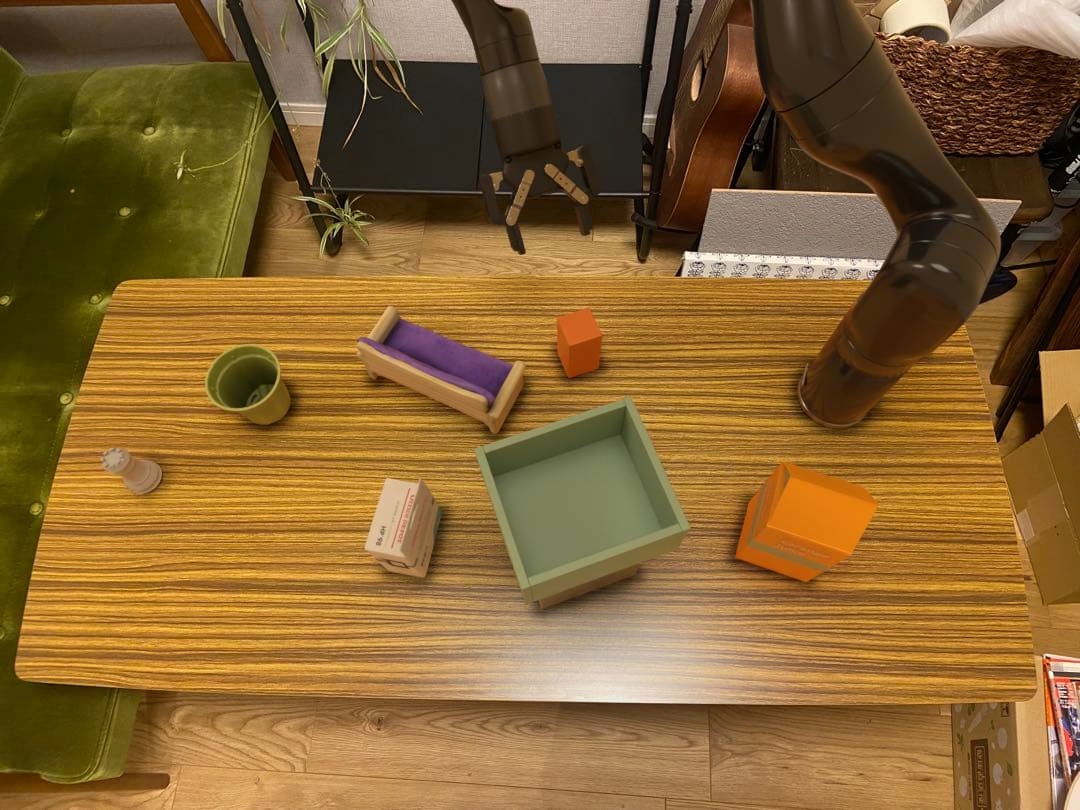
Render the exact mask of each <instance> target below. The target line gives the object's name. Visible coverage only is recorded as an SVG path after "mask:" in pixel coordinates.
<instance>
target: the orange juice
mask: <svg viewBox="0 0 1080 810" xmlns="http://www.w3.org/2000/svg"><path fill="white" fill-rule="evenodd" d="M879 506H880V503H878V501H877V500H876V499H875V498H874V496H872V494H871V493H870V492H869V491H868V490H867V489H866V488H865V487H864V486H862V485H859V484H855V483H853V482H850V481H846V480H843V479H840V478H837V477H834V476H831V475H827V474H824V473H821V472H818V471H814V470H812V469H808V468H805V467H803V466H799V465H796V464H793V463H790V462H788V461H784V460H782V461H781V462H780V464H779V465H778V466H777V467H776V469H775V470H774V471H773V473H772V474H771V475H770V476H769V477H768V478H767V479H766V480H765V481H764V482H763V484H762V485H761V486H760V488H759V489H758V490H757V491H756V493H755V494H754V495H753V496H752V497H751V499H750V500H749V501H748V505H747V508H746V513H745V517H744V520H743V525H742V528H741V532H740V536H739V540H738V544H737V548H736V550H735V551H736V552H735V555H734V558H735V559H738V560H741V561H743V562H746V563H748V564H752V565H755V566H758V567H762V568H764V569H767V570H770V571H773V572H775V573H778V574H781V575H784V576H787V577H790V578H791V579H796V580H798V581H801V582H804V583H807V582H809V581H811V580H812V579H814V578H816V577H818V576H819V575H820V574H823V573H825V572H826V571H828V570H830V569H831V568H832V567H833V566H836V565H837V564H839V563H840V562H842V561H844V560H845V559H847V558H849V557H851V556H852V555H853V552H854V550H855V549H856V547H857V545H858V543H859V542H860V540H861V538H862V536H863V535H864V532H865V531H866V529H867V528H868V526H869V524H870V522H871V521H872V518H873V517H874V515H875V513H876V512H877V510H878V508H879Z"/></svg>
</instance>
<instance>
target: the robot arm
mask: <svg viewBox="0 0 1080 810" xmlns="http://www.w3.org/2000/svg"><path fill="white" fill-rule="evenodd" d="M450 1H451V2H452V4H453V6H454V8H455V10H456V12H457V14H458V16H459V18H460V20H461V22H462V24H463V26H464V28H465V30H466V32H467V34H468V36H469V38H470V40H471V43H472V46H473V50H474V51H473V52H474V54H475V59H476V63H477V67H478V70H479V74H480V76H481V82H482V89H483V96H484V100H485V104H486V112H487V116H488V117H489V120H490V124H491V127H492V132H493V135H494V138H495V142H496V146H497V150H498V153H499V157H500V161H501V169H500V171H497V172H492V173H482V174H480V175H479V177H478V180H479V184H480V185H479V186H480V189H481V193H482V199H483V203H484V207H485V213H486V217H487V221H488V222H489V223H490V224H492V225H497V226H498V225H500V226H503V227H504V228H505V231H506V234H507V237H508V241H509V245H510V248H511V249H512V251H514V252H515V253H517V254H518V255H520V256H522V255H526V254H527V251H526V248H525V244H524V240H523V236H522V232H521V228H520V225H519V223H517V221H518V217H519V215H520V212H521V210H522V208H523V207H524V204H525V202H526V200H535V199H538V198H540V197H541V196H543V195H551V194H555V193H557V191H560V192H562V193H563V194H565V195H566V196H567V197H569V198H570V199H571V200H572V201H573V202H574V203H575V205H573V206H574V207H573V208H574V211H575V212H574V213H575V216H576V221H577V224H578V230H579V233H580V235H581V236H583V237H587V236H590V235H591V230H593V227H594V223H593V219H592V213H591V210H590V202H591V200H592V199H593V198H595V197H596V196H599V195H600V194H601V192H602V188H601V184H600V181H599V177H598V174H597V169H596V167H595V164H594V159H593V156H592V153H591V149H590V147H589V146H588V145H580V146H578V147H576V148H575V149H573V150H570V151H567V152H566V150H565V149H564V147H563V144H562V141H561V136H560V131H559V128H558V123H557V119H556V115H555V110H554V105H553V102H552V98H551V94H550V90H549V84H548V81H547V77H546V75H545V72H544V70H543V67H542V64H541V61H540V57H539V56H540V55H539V53H538V48H537V44H536V40H535V35H534V30H533V26H532V22H531V19H530V16H529V14H528V13H527V11H525V10H524V9H523V8H520V7H516V6H507V5H502V4H500V3H498V2H496V1H495V0H450ZM749 6H750V14H751V23H752V34H753V41H754V42H753V43H754V44H753V45H754V53H755V60H756V61H755V62H756V67H757V72H758V78H759V83H760V85H761V88H762V91H763V94H764V95H765V97H766V98H765V99H767V101H768V103H769V105H770V106H771V108H772V109H773V111H774V112H775V114H776V116H777V117H778V118H779V120H780V122H781V123H782V125H783V126H784V128H785V129H786V130H787V132H788V133H789V135H790V136H791V137H792V139H793V141H795V143H796V145H798V147H799V148H800V149H801V151H803V152H804V153H805V154H806V156H808V157H810V158H811V159H812V160H814V161H815V162H818V163H819V164H821V165H823V166H825V167H827V168H829V169H832V170H834V171H837V172H839V173H842V174H844V175H847V176H849V177H852V178H854V179H856V180H858V181H860V182H862V183H863V184H865V185H866V186H867V187H868V188H869V189H871V191H872V192H873V193H874V194H875V195H876V197H877V198H878V199H879V201H880V203H881V204H882V206H883V207H884V209H885V211H886V212H887V214H888V216H889V218H890V219H891V222H892V224H893V226H894V229H895V233H896V238H895V240H894V241H893V243H892V245H891V247H890V249H889V251H888V252H887V255H886V257H885V258H884V261H883V263H882V264H881V266H880V267H879V270H878V271H877V273H876V274H875V276H874V277H873V278H872V280H871V281H870V283H869V284H868V286H867V288H865V290H864V291H863V292H862V293H861V294H859V295H858V296H857V297H856V299H854V301H853V303H852V305H850V307H849V309H848V310H847V311H846V313H845V314H844V316H843V317H842V318H841V320H840V322H839V323H838V325H837V326H836V328H835V329H834V331H833V332H832V334H831V335H830V337H829V338H828V340H826V342H825V344H824V345H823V347H822V348H821V349H820V351H819V352H818V354H817V355H816V357H815V358H814V360H813V361H812V362H811V364H810V366H809V362H807V364H805V368H804V372H803V374H802V375H801V376H800V379H799V380H798V383H797V386H796V397H797V401H798V404H799V406H800V408H801V409H802V411H803V412H804V414H805V415H807V416H808V418H810V419H811V420H812V421H814V422H815V423H817V424H818V425H821V426H824V427H827V428H830V429H846V428H847V429H848V428H850V427H853V426H854V425H855V426H856V425H857V424H858V423H860V422H861V421H862V420H863V419H864V418H865V417H866V415H867V414H868V413H869V412H870V410H871V409H872V408H873V407H875V406H876V404H878V402H879V401H880V400H881V399H882V398H883V397H884V396H885V395H886V394H887V393H888V392H889V391H890V390H892V388H893V387H894V386H895V385H896V384H897V383H898V382H899V381H900V379H902V378H903V377H904V376H905V375H906V373H907V372H909V370H910V369H911V368H912V367H914V365H915V364H916V363H917V362H919V360H920V359H921V358H923V357H925V356H928V355H930V354H932V353H933V352H935V351H936V350H937V349H939V348H940V347H941V346H942V345H943V344H944V343H945V342H946V341H947V340H948V339H949V338H950V337H952V336H953V335H954V334H955V333H957V331H958V330H959V329H960V328H961V327H962V326H963V325H964V324H965V323H966V322H967V321H968V320H969V319H970V317H971V316H972V315H973V314H974V313H975V311H976V309H977V308H978V306H979V304H980V302H981V300H982V298H983V295H984V294H985V291H986V289H987V287H988V285H989V283H990V280H991V278H992V276H993V274H994V271H995V270H996V267H997V265H998V262H999V259H1000V257H1001V250H1002V238H1001V234H1000V231H999V229H998V226H997V224H996V222H995V221H994V219H993V218H992V215H990V213H989V211H988V210H987V209H986V208H985V207H984V205H983V204H982V202H981V201H980V200H979V198H978V197H977V196H976V195H975V194H974V192H973V191H972V190H971V188H970V187H969V186H968V185H967V183H966V182H965V181H964V180H963V178H962V177H961V176H960V175H959V174H958V172H957V171H956V169H955V168H954V167H953V165H952V164H951V163H950V162H949V160H948V158H947V157H946V156H945V154H944V153H943V151H942V149H941V148H940V146H939V145H938V143H937V141H936V139H935V137H934V136H933V134H932V133H931V130H930V129H929V127H928V126H927V124H926V123H925V121H924V119H923V118H922V115H921V114H920V112H919V111H918V110H917V108H916V106H915V105H914V103H913V101H912V100H911V98H910V96H909V94H908V93H907V91H906V89H905V87H904V86H903V84H902V82H901V79H900V78H899V76H898V74H897V71H896V70H895V68H894V66H893V64H892V62H891V61H890V59H889V57H888V56H887V54H886V52H885V50H884V48H883V47H882V44H881V43H880V42H879V40H878V38H877V36H876V35H875V33H874V31H873V30H872V28H871V26H870V25H869V24H868V22H867V20H866V19H865V17H864V16H863V14H862V13H861V11H860V10H859V8H858V6H857V5H856V3H855V2H854V0H749ZM570 162H572V163H573V165H574V167H577V168H579V170H580V174H581V177H582V181H583V185H584V187H585V188H584V189H583V190H581V189H580V187H578V186H577V184H575V183H574V182H573V181H572V180H571V179H569V178H568V177H567V176H566V175H565V174H566V172H567V169H568V166H569V163H570ZM502 181H503V182H504V183H505V184H506V185H507V186H509V187H510V188H511V189H512V191H511V193H510V197H509V200H508V203H507V207H506V209H505V212H504V213H500V209H499V205H498V200H497V195H496V192H497V191H499V189H500V184H501V182H502ZM808 366H809V367H808Z"/></svg>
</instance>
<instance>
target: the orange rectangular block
mask: <svg viewBox="0 0 1080 810" xmlns="http://www.w3.org/2000/svg"><path fill="white" fill-rule="evenodd" d="M556 334H557V335H556V352H557V355H558V357H559V360H560V362H561V364H562V367H563V369H564V372H565V374H566V376H567V378H568V379H571V378H574V377H578V376H580V375H583V374H586V373H590V372H593V371H595V370H598V369H599V368H600V359H601V350H602V342H603V334H602V332H601V329H600V327H599V325H598V323H597V321H596V318H595V316H594V314H593V311H592V309H591V307H587V308H586V307H585V308H584V309H580V310H577V311H574V312H571V313H567V314H564V315H561V316H558V317H557V318H556Z"/></svg>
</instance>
